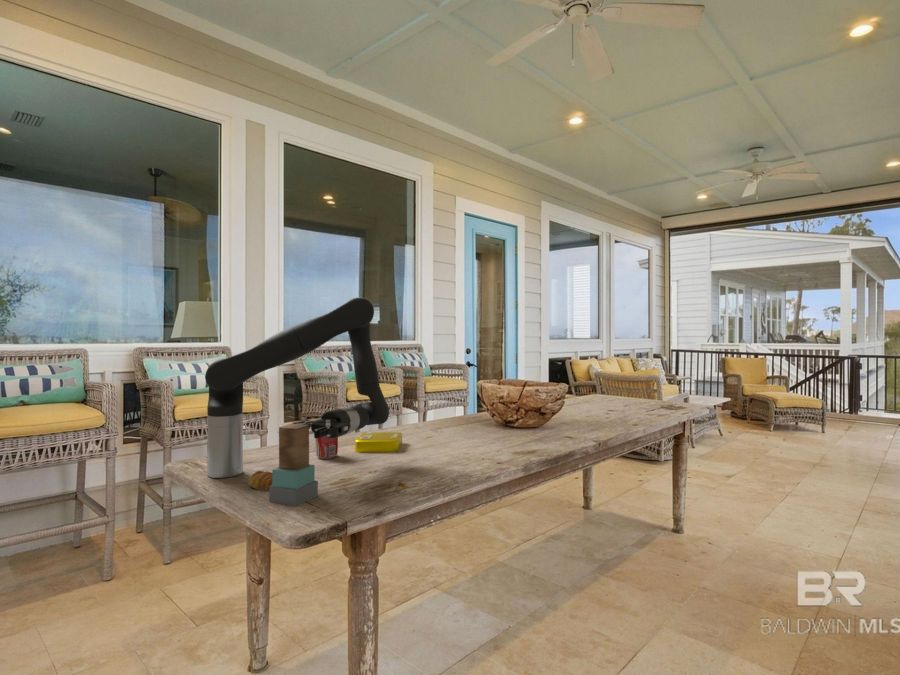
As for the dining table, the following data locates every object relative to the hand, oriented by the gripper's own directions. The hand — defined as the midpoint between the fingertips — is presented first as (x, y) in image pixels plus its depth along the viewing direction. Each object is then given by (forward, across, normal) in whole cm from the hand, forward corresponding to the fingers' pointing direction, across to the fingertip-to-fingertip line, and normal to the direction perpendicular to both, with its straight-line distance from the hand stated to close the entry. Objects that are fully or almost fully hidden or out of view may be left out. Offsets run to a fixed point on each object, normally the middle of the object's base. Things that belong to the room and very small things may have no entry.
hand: (301, 433), depth 122 cm
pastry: (-2, -14, +16) cm, 21 cm away
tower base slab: (+3, 0, +16) cm, 16 cm away
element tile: (-52, -9, +16) cm, 55 cm away
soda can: (-34, -18, +16) cm, 41 cm away
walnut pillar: (+3, 0, +8) cm, 8 cm away
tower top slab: (+3, 0, +12) cm, 12 cm away
